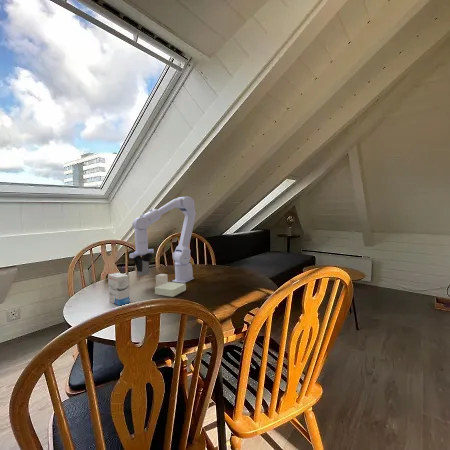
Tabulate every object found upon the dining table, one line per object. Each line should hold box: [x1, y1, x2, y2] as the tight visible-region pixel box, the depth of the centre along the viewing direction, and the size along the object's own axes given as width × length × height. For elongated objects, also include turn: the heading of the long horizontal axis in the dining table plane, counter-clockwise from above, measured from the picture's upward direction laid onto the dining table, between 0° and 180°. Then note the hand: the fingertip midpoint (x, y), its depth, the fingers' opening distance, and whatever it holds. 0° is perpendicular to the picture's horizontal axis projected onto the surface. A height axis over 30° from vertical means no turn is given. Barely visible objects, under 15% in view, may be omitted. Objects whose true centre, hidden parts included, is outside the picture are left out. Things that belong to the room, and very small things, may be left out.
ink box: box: [107, 272, 131, 307], centre depth 118 cm, size 8×5×12 cm, turn 48°
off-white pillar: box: [155, 273, 169, 287], centre depth 138 cm, size 4×4×6 cm
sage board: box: [154, 281, 187, 297], centre depth 130 cm, size 10×10×3 cm
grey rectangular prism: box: [136, 261, 150, 277], centre depth 136 cm, size 4×4×6 cm
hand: (143, 270), depth 136 cm, fingers closed on grey rectangular prism, 4 cm apart
